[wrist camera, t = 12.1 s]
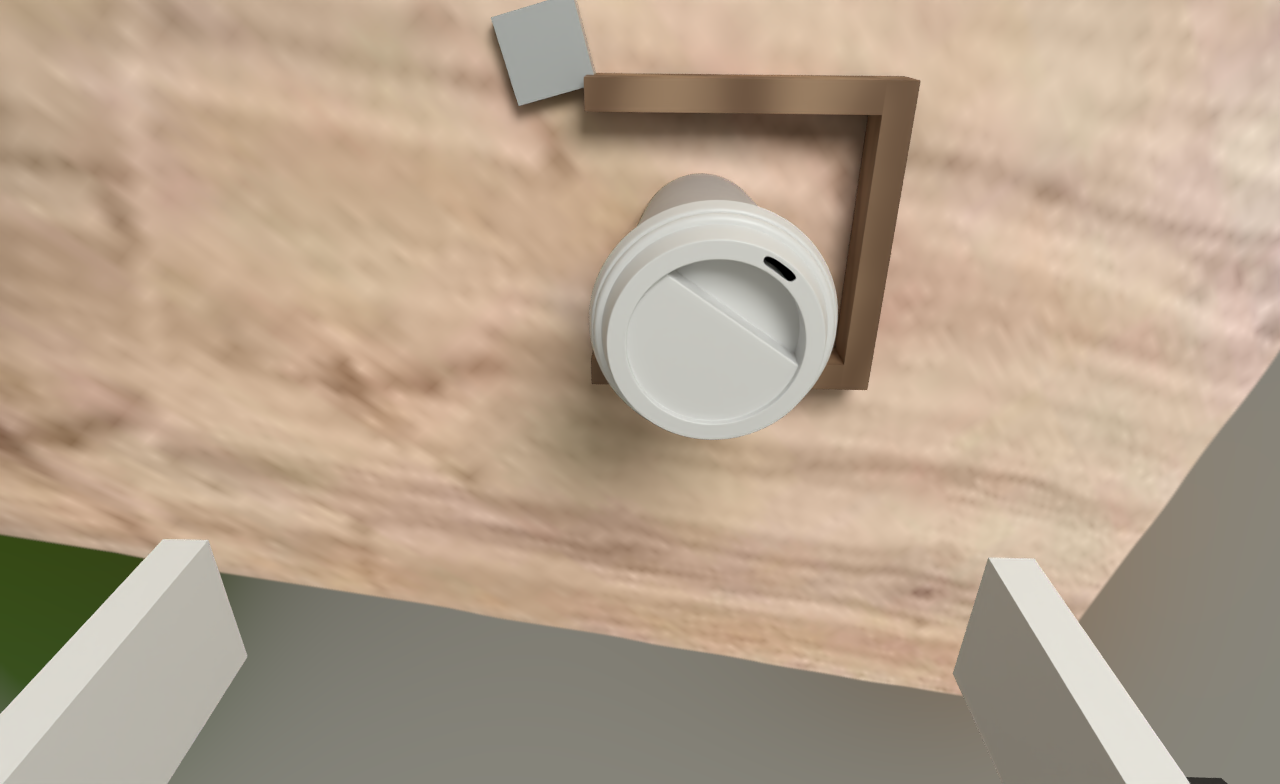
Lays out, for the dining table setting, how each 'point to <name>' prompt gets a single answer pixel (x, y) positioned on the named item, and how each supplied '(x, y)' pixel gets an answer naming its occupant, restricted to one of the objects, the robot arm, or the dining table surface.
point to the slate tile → (544, 49)
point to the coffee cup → (712, 312)
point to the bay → (877, 186)
